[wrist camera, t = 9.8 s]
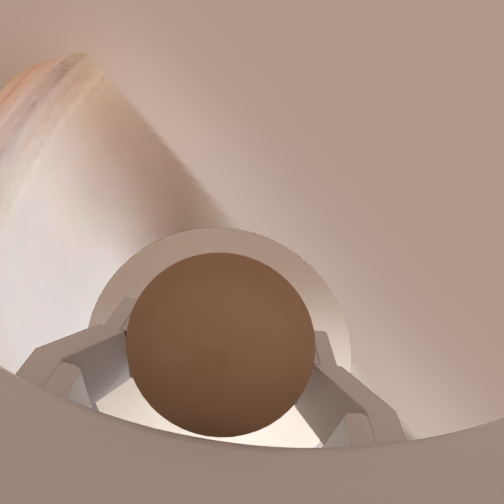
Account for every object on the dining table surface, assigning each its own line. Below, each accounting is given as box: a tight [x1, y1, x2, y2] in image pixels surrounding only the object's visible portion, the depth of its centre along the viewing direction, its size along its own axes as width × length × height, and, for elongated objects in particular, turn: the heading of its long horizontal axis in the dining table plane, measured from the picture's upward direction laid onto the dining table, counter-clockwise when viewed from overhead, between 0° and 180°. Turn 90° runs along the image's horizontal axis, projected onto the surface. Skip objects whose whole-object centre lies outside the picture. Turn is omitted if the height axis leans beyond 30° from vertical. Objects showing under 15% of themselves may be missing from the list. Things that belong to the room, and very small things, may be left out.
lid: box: [88, 228, 351, 448], centre depth 9 cm, size 12×12×9 cm
